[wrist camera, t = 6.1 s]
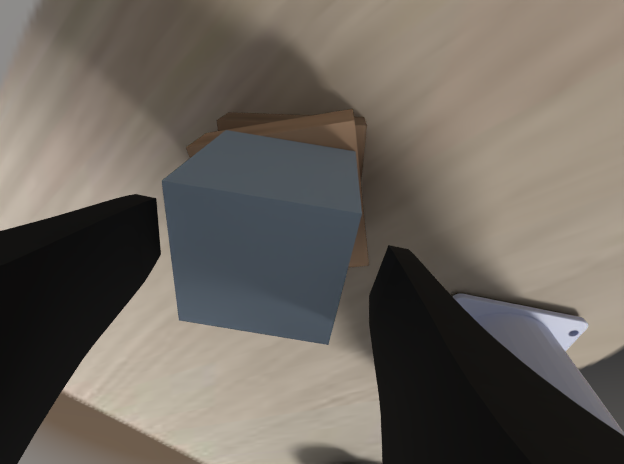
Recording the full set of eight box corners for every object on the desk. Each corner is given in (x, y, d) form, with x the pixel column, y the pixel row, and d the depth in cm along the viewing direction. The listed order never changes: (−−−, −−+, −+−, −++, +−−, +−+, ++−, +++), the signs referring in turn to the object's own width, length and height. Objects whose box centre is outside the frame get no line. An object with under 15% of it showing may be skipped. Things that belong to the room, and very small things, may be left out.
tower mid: (365, 239, 15) (369, 265, 13) (246, 251, 16) (235, 277, 14) (352, 108, 12) (354, 120, 10) (206, 132, 13) (185, 147, 11)
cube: (332, 255, 13) (328, 344, 9) (226, 238, 13) (178, 320, 9) (355, 151, 11) (361, 213, 7) (226, 129, 11) (161, 180, 7)
